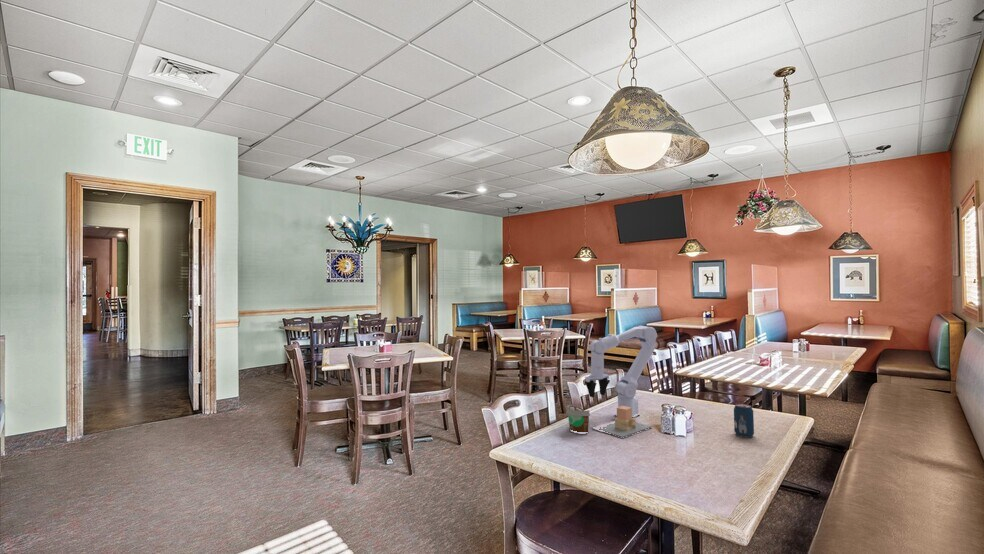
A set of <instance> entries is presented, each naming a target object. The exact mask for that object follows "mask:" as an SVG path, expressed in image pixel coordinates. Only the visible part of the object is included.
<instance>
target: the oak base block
mask: <svg viewBox="0 0 984 554" xmlns="http://www.w3.org/2000/svg"><path fill="white" fill-rule="evenodd" d="M614 420H615V428H618V429H622V430H625V431H629V430H632V429H635V428H636V421H637V420H636V417H633V418H631V419H629V420H622V419H618V418H617V417H615V418H614Z"/></svg>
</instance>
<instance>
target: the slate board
mask: <svg viewBox="0 0 984 554" xmlns="http://www.w3.org/2000/svg"><path fill="white" fill-rule="evenodd" d="M651 427H652V426H651V425H649V424H643V423H639V422H636V428H635V429H632V430H629V431H625V430H622V429H618V428H615V423H614V424H609V425H607V427H603V429H601V427H600V429H599V430H603V431H605V432H608V433H611V434H614V435H616V436H619V437H622V438H623V437H626V436H629V435H631V436H633V435H632V434H634V433H637V432H640V431H643V430H645V429H648V428H651ZM605 428H606V429H605ZM651 429H652V428H651ZM648 430H649V429H648ZM645 431H646V430H645ZM643 432H644V431H643ZM640 433H641V432H640ZM637 434H638V433H637ZM634 435H635V434H634ZM616 436H615V437H616ZM619 437H618V438H619ZM629 437H630V436H629ZM622 438H621V439H622ZM626 438H627V437H626ZM623 439H624V438H623Z"/></svg>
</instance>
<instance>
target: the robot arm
mask: <svg viewBox="0 0 984 554" xmlns="http://www.w3.org/2000/svg"><path fill="white" fill-rule="evenodd" d="M631 338H637V340H638V342H640V345H641V348H640V350H639V351H638V354H637V355H636V357H635V359H634V361H633V362H632V364H631V366H630V368H629V369H628V371H627V373H626V375H623V376H622V377H621V378H620V380H618V381H617V382H616V383H615V386H614V389H615V392H616V393H617V407H620V406H626V407H631V408H632V416H634V415H635V414H639V400H638V399H637V397H636V394H637V388H638V387H639V385H638V384H639V383H638V379H639V378H640V376H641V374H642V373H643V371H644V369H645V368H646V366H647V363H648V362H649V360H650V358H651V356H652V355H653V353H654V352H655V348H656V340H657V338H658V334H657V331H656V329H655V328H654V327H652V326H645V325H637V326H634V327H632V328H629V329H627V330H626V331H623V332H621V333H619V334H616V335H615V334H613V333H612V334H611V333H608V334H607V336H605V337H599V338H598V340H596V339H595V340H592V341H591V342H590V344H589V346H588V348H589V351H591V352H590V355H591V357H590V358H591V360H590V374H589V376H585V377H584V378H585V380H584V384H585V386H586V388H587V391H588V396H589V397H590V398H594V397H595V395H596V393H595V392H596V386H597V384H598V386H599V395H601V396H605V394H606V391H607V387H608V385H609V383H610V382H611V381H610V375H609V374H607V373H604V369H605V368H604V367H605V366H604V365H605V358H604V357H605V356H604V354H605V352H606V351H608V350H610V349H612V348H615V347H618V346H619V344H620V342H624V341H626V340H630V339H631ZM596 381H598V383H597V382H596Z"/></svg>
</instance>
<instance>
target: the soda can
mask: <svg viewBox="0 0 984 554" xmlns="http://www.w3.org/2000/svg"><path fill="white" fill-rule="evenodd" d="M754 419H755V418H754V409H753V408H752V405H750V404H747V403H735V405H734V407H733V429H734V430H733V431H734V433H735V435H736V436H738V437H740V436H741V438H746V437H750V438H752V437H753V436H754V434H755V424H754V423H755V422H754V421H755V420H754Z"/></svg>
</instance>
